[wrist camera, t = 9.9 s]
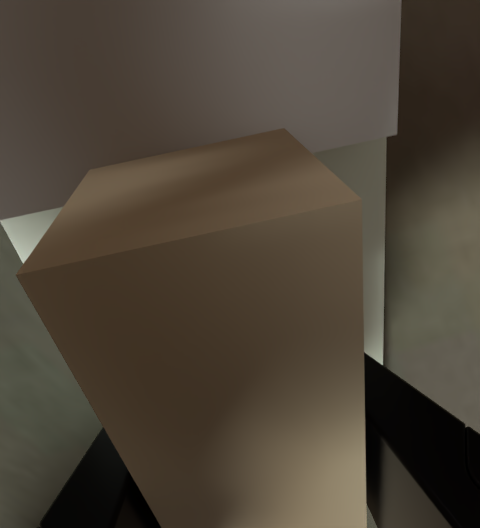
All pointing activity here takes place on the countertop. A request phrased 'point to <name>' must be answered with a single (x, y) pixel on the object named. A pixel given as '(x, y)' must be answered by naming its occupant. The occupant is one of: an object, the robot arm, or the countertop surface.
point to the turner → (205, 237)
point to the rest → (349, 172)
